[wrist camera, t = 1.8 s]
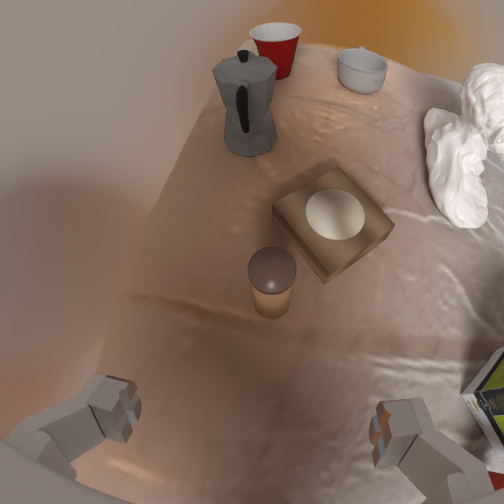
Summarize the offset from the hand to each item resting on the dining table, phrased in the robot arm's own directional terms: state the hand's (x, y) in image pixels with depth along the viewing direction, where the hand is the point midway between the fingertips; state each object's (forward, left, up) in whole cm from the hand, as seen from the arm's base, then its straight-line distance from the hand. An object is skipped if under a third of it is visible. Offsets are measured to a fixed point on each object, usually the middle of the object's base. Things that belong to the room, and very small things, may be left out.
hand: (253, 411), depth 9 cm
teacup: (+52, +39, -28) cm, 71 cm away
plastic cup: (+38, +52, -28) cm, 70 cm away
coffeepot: (+20, +35, -28) cm, 49 cm away
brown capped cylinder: (+7, +10, -28) cm, 30 cm away
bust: (+51, +8, -28) cm, 59 cm away
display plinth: (+20, +14, -28) cm, 37 cm away
